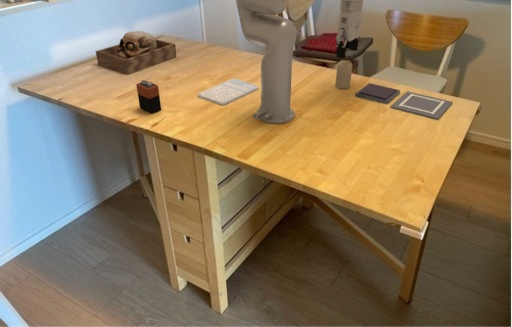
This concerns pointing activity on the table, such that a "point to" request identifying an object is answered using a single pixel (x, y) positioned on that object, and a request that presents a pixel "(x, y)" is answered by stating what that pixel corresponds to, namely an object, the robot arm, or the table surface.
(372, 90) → the ink pad
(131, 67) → the wooden tray
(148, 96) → the battery
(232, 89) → the calculator
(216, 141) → the table surface
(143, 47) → the brown skull
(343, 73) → the candle
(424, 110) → the marked board
